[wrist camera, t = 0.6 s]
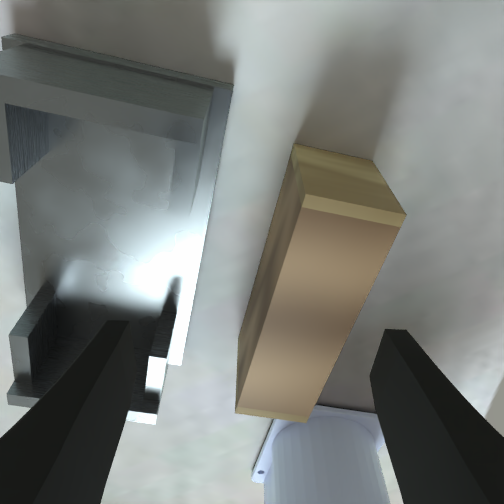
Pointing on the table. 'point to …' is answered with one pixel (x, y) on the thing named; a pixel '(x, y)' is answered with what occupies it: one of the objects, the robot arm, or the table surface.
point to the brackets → (105, 205)
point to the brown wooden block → (312, 279)
